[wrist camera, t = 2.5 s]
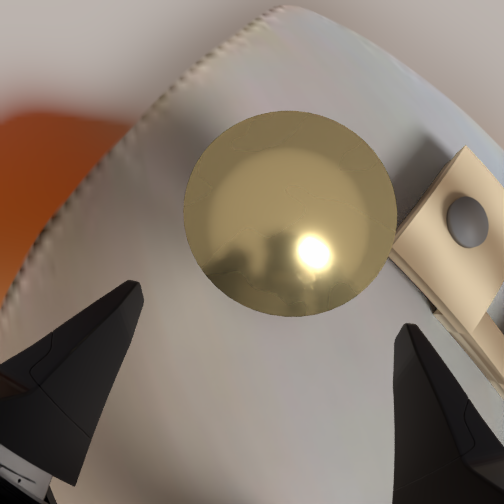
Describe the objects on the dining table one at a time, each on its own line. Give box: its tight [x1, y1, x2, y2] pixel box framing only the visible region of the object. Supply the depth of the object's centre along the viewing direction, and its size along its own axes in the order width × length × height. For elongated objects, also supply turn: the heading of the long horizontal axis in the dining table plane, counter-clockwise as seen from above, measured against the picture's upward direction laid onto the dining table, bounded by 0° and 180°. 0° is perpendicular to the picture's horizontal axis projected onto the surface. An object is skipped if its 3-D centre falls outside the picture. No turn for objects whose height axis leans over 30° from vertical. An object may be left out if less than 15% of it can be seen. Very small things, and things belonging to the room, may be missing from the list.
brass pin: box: [183, 111, 397, 317], centre depth 13 cm, size 4×4×14 cm
